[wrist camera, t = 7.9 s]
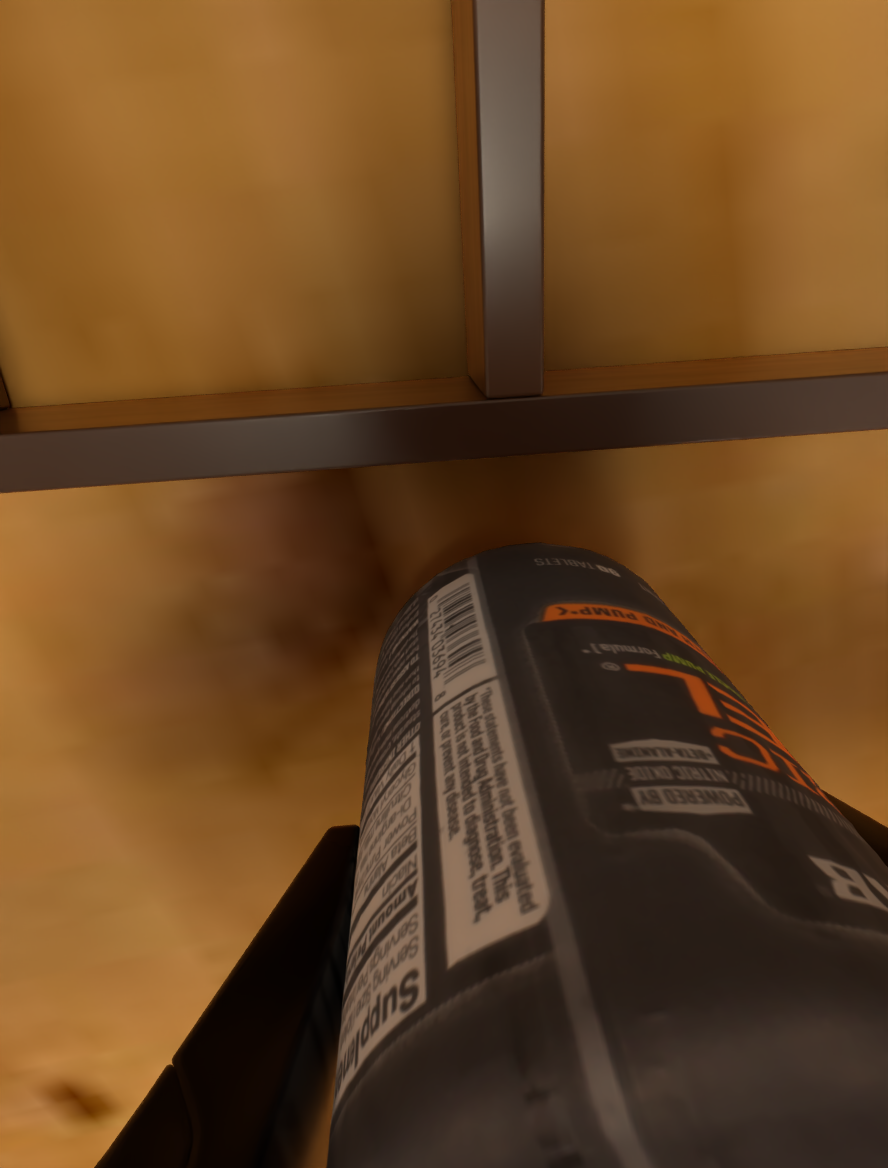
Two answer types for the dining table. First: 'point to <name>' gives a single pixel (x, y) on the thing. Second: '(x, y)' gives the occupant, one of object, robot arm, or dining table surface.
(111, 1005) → the dining table surface
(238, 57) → the dining table surface
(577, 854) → the pill bottle
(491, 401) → the rack
